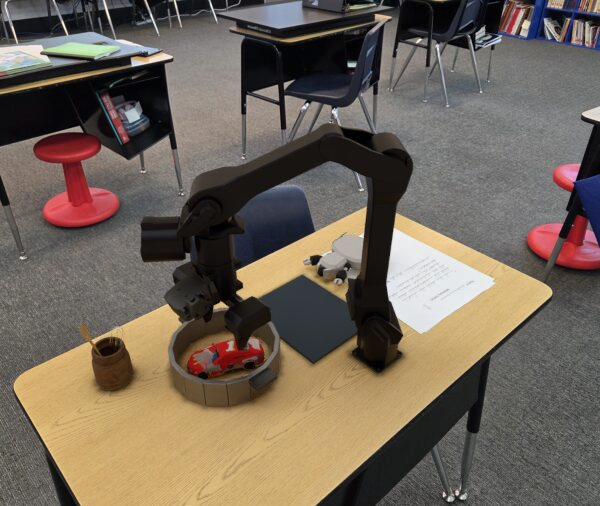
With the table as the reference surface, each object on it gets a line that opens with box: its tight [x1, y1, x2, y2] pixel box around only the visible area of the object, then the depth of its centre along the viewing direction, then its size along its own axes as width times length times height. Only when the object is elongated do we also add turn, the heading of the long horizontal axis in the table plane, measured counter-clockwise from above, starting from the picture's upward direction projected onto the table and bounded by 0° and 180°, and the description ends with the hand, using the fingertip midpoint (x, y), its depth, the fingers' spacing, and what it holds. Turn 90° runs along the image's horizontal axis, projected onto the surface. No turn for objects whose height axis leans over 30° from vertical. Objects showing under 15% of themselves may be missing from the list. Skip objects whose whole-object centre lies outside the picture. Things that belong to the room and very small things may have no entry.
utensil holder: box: [78, 322, 134, 391], centre depth 87 cm, size 6×6×12 cm
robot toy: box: [302, 229, 364, 286], centre depth 116 cm, size 12×4×15 cm
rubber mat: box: [257, 274, 357, 364], centre depth 103 cm, size 20×16×1 cm
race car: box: [186, 337, 266, 380], centre depth 91 cm, size 13×5×4 cm, turn 106°
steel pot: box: [167, 307, 281, 408], centre depth 91 cm, size 22×18×5 cm
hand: (224, 334), depth 89 cm, fingers open, 9 cm apart
